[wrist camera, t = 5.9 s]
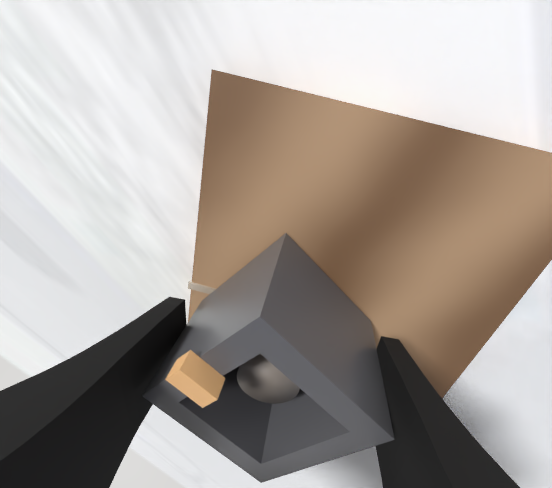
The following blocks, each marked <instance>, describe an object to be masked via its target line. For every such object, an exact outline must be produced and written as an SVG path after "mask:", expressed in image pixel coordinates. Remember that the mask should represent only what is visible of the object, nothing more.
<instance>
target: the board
mask: <svg viewBox="0 0 552 488" xmlns="http://www.w3.org/2000/svg"><path fill="white" fill-rule="evenodd" d="M285 233H287V234H288V235H289V236H290V237H291V238H292V239H293V240H294V242H295V243H296V244H297V245H298V246H299V247H300V248H301V249H302V250H303V251H304V252H305V253H306V254H307V255H308V256H309V257H310V258H311V259H312V260H313V261H314V262H315V263H316V264H317V265H318V266H319V268H320V269H321V270H322V271H323V272H324V273H325V274H326V275H327V276H328V277H329V278H330V279H331V280H332V281H333V282H334V283H335V284H336V285H337V286H338V287H339V288H340V289H341V290H342V291H343V292H344V293H345V295H346V296H347V297H348V298H349V299H350V300H351V301H352V302H353V303H354V304H355V305H356V306H357V307H358V308H359V309H360V310H361V311H362V312H363V313H364V314H365V315H366V316H367V317H368V318H369V319H370V321H371V323H372V328H373V333H374V338H375V343H376V348H377V346H378V343H379V341H380V338H381V336H384V337H389V338H394V339H399V340H400V342H401V343H402V344H403V346H404V347H405V349H406V350H407V351H408V353H409V354H410V356H411V357H412V358H413V360H414V361H415V363H416V364H417V366H418V367H419V368H420V370H421V371H422V373H423V374H424V375H425V377H426V378H427V379H428V381H429V382H430V384H431V385H432V386H433V387H434V389H435V390H436V391H437V393H438V394H439V395H440V397H441V398H443V397H444V395H445V394H446V393H447V391H448V390H449V389H450V388H451V386H452V385H453V384H454V383H455V381H456V380H457V379H458V378H459V376H460V375H461V374H462V372H463V371H464V370H465V369H466V367H467V366H468V365H469V364H470V362H471V361H472V360H473V359H474V357H475V356H476V355H477V353H478V352H479V351H480V350H481V348H482V347H483V346H484V345H485V343H486V342H487V341H488V340H489V338H490V337H491V336H492V334H493V333H494V332H495V331H496V329H497V328H498V327H499V326H500V324H501V323H502V322H503V321H504V319H505V318H506V317H507V315H508V314H509V313H510V312H511V310H512V309H513V308H514V307H515V305H516V304H517V303H518V302H519V300H520V299H521V298H522V297H523V295H524V294H525V293H526V291H527V290H528V289H529V288H530V286H531V285H532V284H533V283H534V281H535V280H536V279H537V278H538V276H539V275H540V274H541V272H542V271H543V270H544V269H545V267H546V266H547V265H548V264H549V262H550V261H551V260H552V153H550V152H546V151H542V150H538V149H534V148H530V147H526V146H522V145H518V144H513V143H509V142H505V141H501V140H497V139H493V138H489V137H485V136H481V135H477V134H473V133H469V132H465V131H460V130H456V129H452V128H448V127H444V126H440V125H436V124H432V123H428V122H424V121H420V120H416V119H412V118H408V117H403V116H399V115H395V114H391V113H387V112H383V111H379V110H375V109H371V108H367V107H363V106H359V105H355V104H350V103H346V102H342V101H338V100H334V99H330V98H326V97H322V96H318V95H314V94H310V93H306V92H302V91H298V90H293V89H289V88H285V87H281V86H277V85H273V84H269V83H265V82H261V81H257V80H253V79H249V78H245V77H240V76H236V75H232V74H228V73H224V72H220V71H216V70H212V73H211V84H210V95H209V105H208V116H207V126H206V137H205V148H204V158H203V169H202V180H201V190H200V201H199V211H198V222H197V233H196V243H195V254H194V265H193V275H192V282H189V284H188V289H191V296H190V307H189V318H188V322H189V320H190V319H191V317H192V316H193V314H194V312H195V311H196V309H197V308H198V306H199V304H200V303H201V301H202V300H203V299H204V298H206V297H207V296H208V295H209V294H211V293H212V292H213V291H214V290H216V289H217V288H218V287H219V286H221V285H222V284H223V283H224V282H226V281H227V280H228V279H229V278H231V277H232V276H233V275H234V274H236V273H237V272H238V271H239V270H241V269H242V268H243V267H244V266H246V265H247V264H248V263H249V262H250V261H252V260H253V259H254V258H255V257H257V256H258V255H259V254H260V253H262V252H263V251H264V250H265V249H267V248H268V247H269V246H270V245H272V244H273V243H274V242H275V241H277V240H278V239H279V238H280V237H282V236H283V235H284V234H285ZM237 381H238V384H239V386H240V388H241V389H242V390H243V391H244V392H245V393H246V394H247V395H249V396H250V397H252V398H254V399H256V400H258V401H261V402H265V403H272V404H278V403H284V402H287V401H290V400H292V399H293V398H294V397H296V395H297V394H298V392H299V390H300V388H299V387H298V386H297V385H296V384H294V383H293V382H292V381H291V380H290V379H289V378H288V377H286V376H285V375H284V374H283V373H282V372H281V371H280V370H278V369H277V368H276V367H275V366H274V365H273V364H272V363H270V362H269V361H268V360H267V359H266V358H265V357H264V356H262V355H261V354H259V355H257V356H255V357H254V358H252V359H250V360H249V361H247V362H245V363H244V364H242V365H240V366H239V369H238V372H237Z"/></svg>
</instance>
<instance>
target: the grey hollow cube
mask: <svg viewBox="0 0 552 488" xmlns="http://www.w3.org/2000/svg"><path fill="white" fill-rule="evenodd" d="M259 354H261V355H262V356H264V357H265V358H266V359H267V360H268V361H269V362H270V363H272V364H273V365H274V366H275V367H276V368H277V369H278V370H280V371H281V372H282V373H283V374H284V375H285V376H286V377H288V378H289V379H290V380H291V381H292V382H293V383H294V384H296V385H297V386H298V387H299V388H300V390H299V392H298V394H297V395H296V397H294V398H293V399H292V400H290V401H287V402H284V403H278V404H272V403H265V402H261V401H258V400H256V399H254V398H252V397H250V396H249V395H247V394H246V393H245V392H244V391H243V390H242V389H241V388H240V386H239V384H238V381H237V372H238V369H239V366H240V365H242V364H244V363H245V362H247V361H249V360H250V359H252V358H254V357H255V356H257V355H259ZM142 396H143V397H144V398H145V399H147V400H148V401H150V402H151V403H152V404H154V405H155V406H156V407H158V408H159V409H161V410H162V411H163V412H165V413H166V414H167V415H169V416H170V417H172V418H173V419H174V420H176V421H177V422H178V423H180V424H181V425H183V426H184V427H185V428H187V429H188V430H189V431H191V432H192V433H194V434H195V435H196V436H198V437H199V438H200V439H202V440H203V441H205V442H206V443H207V444H209V445H210V446H211V447H213V448H214V449H216V450H217V451H218V452H220V453H221V454H222V455H224V456H225V457H227V458H228V459H229V460H231V461H232V462H233V463H235V464H236V465H238V466H239V467H240V468H242V469H243V470H244V471H246V472H247V473H249V474H250V475H251V476H253V477H254V478H255V479H257V480H258V481H260V482H261V483H262V482H265V481H268V480H271V479H274V478H277V477H280V476H283V475H287V474H290V473H293V472H296V471H299V470H302V469H305V468H308V467H311V466H314V465H318V464H321V463H324V462H327V461H330V460H333V459H336V458H339V457H342V456H346V455H349V454H352V453H355V452H358V451H361V450H364V449H367V448H370V447H373V446H377V445H380V444H383V443H386V442H389V441H392V440H395V439H394V434H393V429H392V424H391V419H390V414H389V409H388V403H387V398H386V393H385V388H384V383H383V378H382V374H381V369H380V364H379V359H378V354H377V348H376V343H375V338H374V333H373V328H372V323H371V321H370V319H369V318H368V317H367V316H366V315H365V314H364V313H363V312H362V311H361V310H360V309H359V308H358V307H357V306H356V305H355V304H354V303H353V302H352V301H351V300H350V299H349V298H348V297H347V296H346V295H345V293H344V292H343V291H342V290H341V289H340V288H339V287H338V286H337V285H336V284H335V283H334V282H333V281H332V280H331V279H330V278H329V277H328V276H327V275H326V274H325V273H324V272H323V271H322V270H321V269H320V268H319V266H318V265H317V264H316V263H315V262H314V261H313V260H312V259H311V258H310V257H309V256H308V255H307V254H306V253H305V252H304V251H303V250H302V249H301V248H300V247H299V246H298V245H297V244H296V243H295V242H294V240H293V239H292V238H291V237H290V236H289V235H288V234H287V233H285V234H284V235H283V236H282V237H280V238H279V239H278V240H277V241H275V242H274V243H273V244H272V245H270V246H269V247H268V248H267V249H265V250H264V251H263V252H262V253H260V254H259V255H258V256H257V257H255V258H254V259H253V260H252V261H250V262H249V263H248V264H247V265H246V266H244V267H243V268H242V269H241V270H239V271H238V272H237V273H236V274H234V275H233V276H232V277H231V278H229V279H228V280H227V281H226V282H224V283H223V284H222V285H221V286H219V287H218V288H217V289H216V290H214V291H213V292H212V293H211V294H209V295H208V296H207V297H206V298H204V299H203V300H202V301H201V303H200V304H199V306H198V308H197V309H196V311H195V312H194V314H193V316H192V317H191V319H190V320H189V322H188V323H187V325H186V327H185V328H184V330H183V331H182V333H181V335H180V336H179V338H178V339H177V341H176V343H175V344H174V346H173V347H172V349H171V350H170V352H169V354H168V355H167V357H166V358H165V360H164V362H163V363H162V365H161V366H160V368H159V369H158V371H157V373H156V374H155V376H154V377H153V379H152V381H151V382H150V384H149V385H148V387H147V389H146V390H145V392H144V393H143V395H142Z"/></svg>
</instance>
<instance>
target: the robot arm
mask: <svg viewBox="0 0 552 488" xmlns="http://www.w3.org/2000/svg"><path fill="white" fill-rule="evenodd" d="M185 327H186V311H185V300H183V299H178V298H173V297H169V298H167V299H165V300H164V301H162V302H161V303H159V304H158V305H156V306H155V307H153V308H152V309H150V310H149V311H147V312H146V313H144V314H143V315H141V316H140V317H138V318H137V319H135V320H134V321H132V322H131V323H129V324H128V325H126V326H124V327H123V328H121V329H120V330H118V331H117V332H115V333H113V334H112V335H110V336H108V337H107V338H105V339H103V340H101V341H100V342H98V343H96V344H95V345H93V346H91V347H90V348H88V349H86V350H84V351H83V352H81V353H79V354H77V355H75V356H73V357H72V358H70V359H68V360H66V361H64V362H62V363H60V364H58V365H56V366H54V367H52V368H50V369H48V370H46V371H44V372H42V373H39V374H37V375H35V376H33V377H31V378H28V379H26V380H24V381H22V382H19V383H17V384H15V385H13V386H10V387H8V388H6V389H4V390H2V391H0V488H109V487H110V485H111V483H112V481H113V479H114V476H115V474H116V472H117V470H118V468H119V466H120V464H121V462H122V460H123V458H124V456H125V454H126V452H127V449H128V447H129V445H130V443H131V441H132V439H133V437H134V436H135V434H136V432H137V430H138V428H139V426H140V425H141V423H142V421H143V420H144V418H145V416H146V415H147V413H148V411H149V410H150V408H151V406H152V405H153V404H152V403H151V402H150V401H148V400H147V399H145V398H144V397H143V396H142V395H143V393H144V392H145V390H146V389H147V387H148V385H149V384H150V382H151V381H152V379H153V377H154V376H155V374H156V373H157V371H158V369H159V368H160V366H161V365H162V363H163V362H164V360H165V358H166V357H167V355H168V354H169V352H170V350H171V349H172V347H173V346H174V344H175V343H176V341H177V339H178V338H179V336H180V335H181V333H182V331H183V330H184V328H185ZM377 354H378V359H379V364H380V369H381V374H382V378H383V383H384V388H385V393H386V398H387V403H388V409H389V414H390V419H391V424H392V429H393V434H394V439H395V440H392V441H389V442H386V443H383V444H380V445H377V446H376V450H377V455H378V461H379V466H380V471H381V477H382V483H383V488H520V487H519V486H518V485H517V484H516V483H515V482H514V481H513V480H512V479H511V478H510V477H509V476H508V475H507V474H506V473H505V472H504V470H503V469H502V468H501V467H500V466H499V465H498V464H497V463H496V462H495V461H494V460H493V458H492V457H491V456H490V455H489V454H488V453H487V452H486V451H485V450H484V449H483V448H482V446H481V445H480V444H479V443H478V442H477V441H476V440H475V438H474V437H473V436H472V435H471V434H470V433H469V431H468V430H467V429H466V428H465V427H464V425H463V424H462V423H461V422H460V421H459V419H458V418H457V417H456V416H455V415H454V413H453V412H452V411H451V410H450V408H449V407H448V406H447V404H446V403H445V402H444V401H443V399H442V398H441V397H440V395H439V394H438V393H437V391H436V390H435V389H434V387H433V386H432V385H431V384H430V382H429V381H428V379H427V378H426V377H425V375H424V374H423V373H422V371H421V370H420V368H419V367H418V366H417V364H416V363H415V361H414V360H413V358H412V357H411V356H410V354H409V353H408V351H407V350H406V349H405V347H404V346H403V344H402V343H401V342H400V340H399V339H394V338H389V337H384V336H381V338H380V341H379V343H378V346H377Z"/></svg>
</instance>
